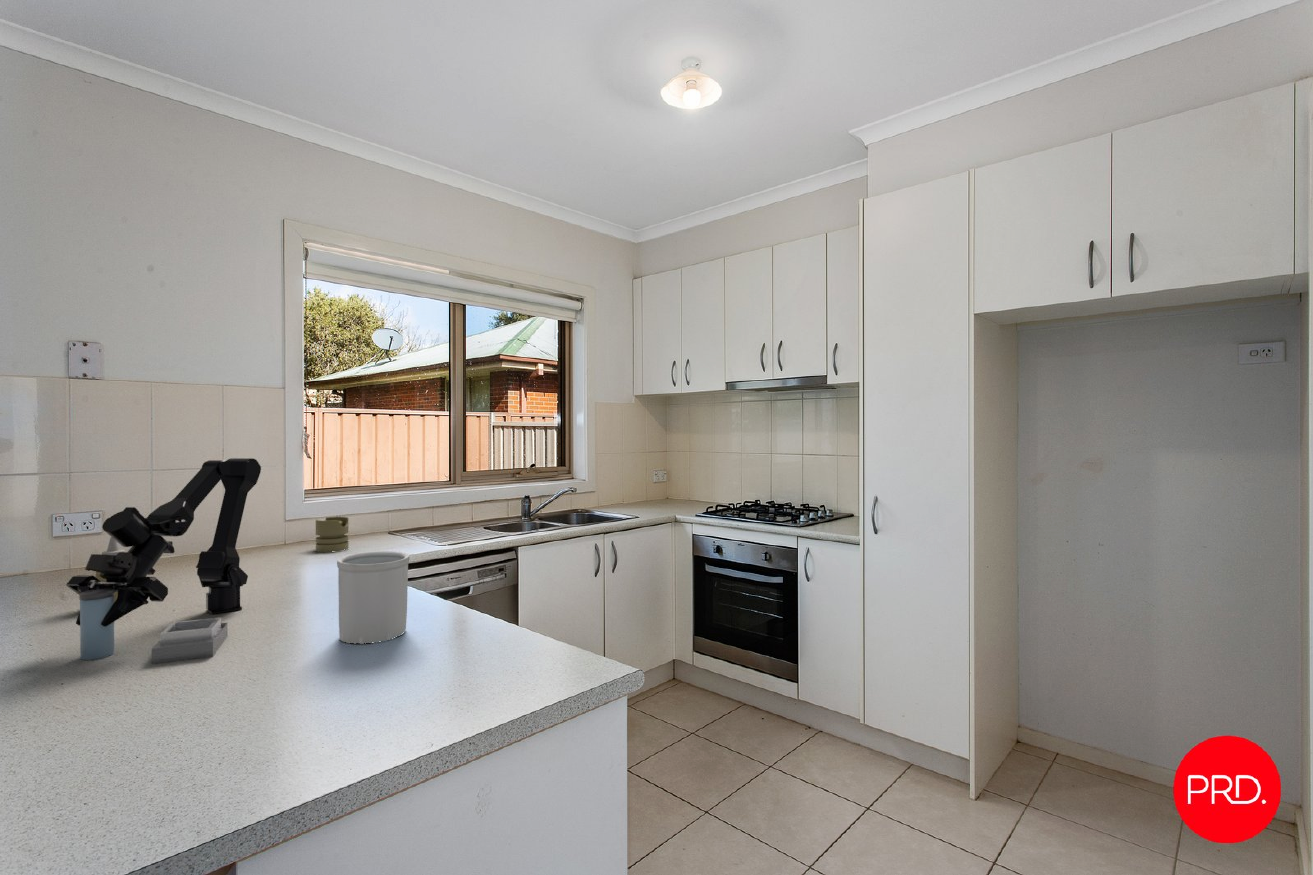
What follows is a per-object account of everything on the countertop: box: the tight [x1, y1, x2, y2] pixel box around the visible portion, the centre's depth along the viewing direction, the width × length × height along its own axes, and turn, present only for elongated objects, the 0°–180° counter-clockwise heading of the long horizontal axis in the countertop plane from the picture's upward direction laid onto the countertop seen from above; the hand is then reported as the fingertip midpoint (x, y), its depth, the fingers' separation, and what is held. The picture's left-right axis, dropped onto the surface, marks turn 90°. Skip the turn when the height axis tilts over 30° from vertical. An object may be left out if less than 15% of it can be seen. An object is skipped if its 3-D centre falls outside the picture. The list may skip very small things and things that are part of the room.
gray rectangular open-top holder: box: [151, 617, 229, 665], centre depth 132 cm, size 14×10×5 cm
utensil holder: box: [336, 550, 410, 645], centre depth 141 cm, size 15×15×18 cm
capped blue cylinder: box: [78, 588, 115, 661], centre depth 128 cm, size 5×5×13 cm
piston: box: [315, 516, 350, 553], centre depth 244 cm, size 11×12×11 cm
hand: (90, 625), depth 127 cm, fingers closed on capped blue cylinder, 5 cm apart
